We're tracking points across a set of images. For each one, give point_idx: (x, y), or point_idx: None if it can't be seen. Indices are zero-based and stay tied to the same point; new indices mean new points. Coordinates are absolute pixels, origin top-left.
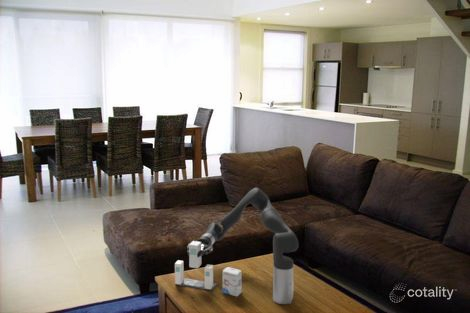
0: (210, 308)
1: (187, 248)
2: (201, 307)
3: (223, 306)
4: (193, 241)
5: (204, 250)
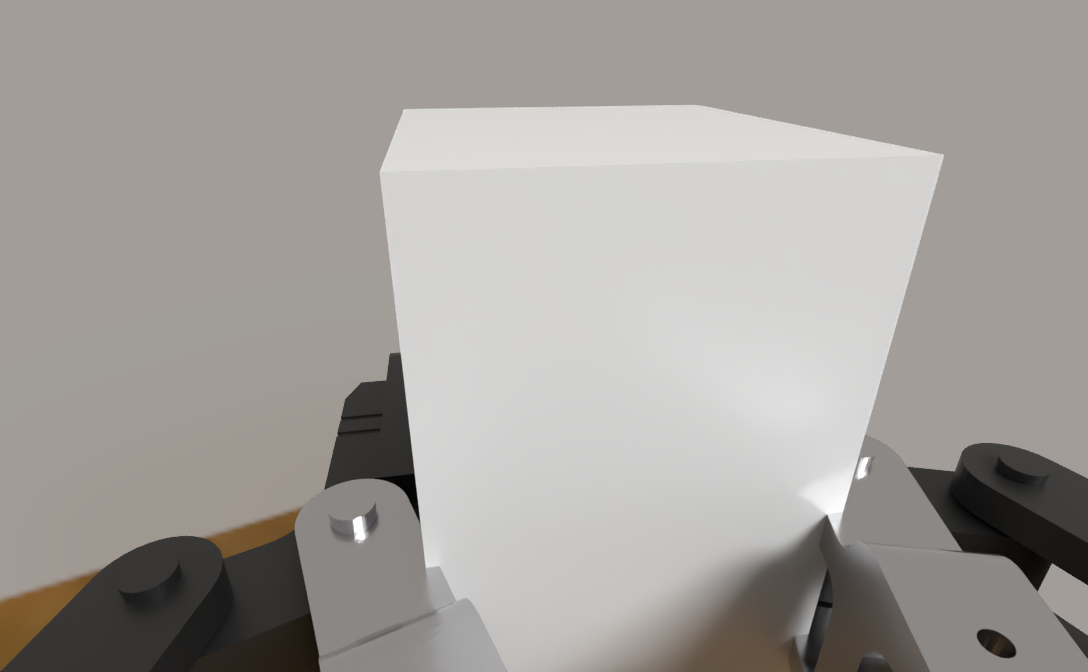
0: (203, 537)
1: (985, 464)
2: (291, 521)
3: (58, 607)
4: (832, 144)
5: (246, 623)
